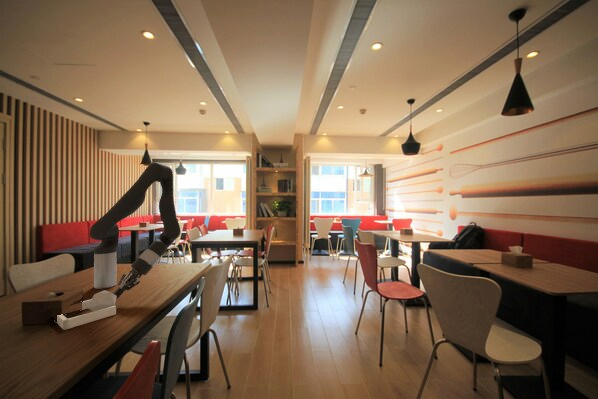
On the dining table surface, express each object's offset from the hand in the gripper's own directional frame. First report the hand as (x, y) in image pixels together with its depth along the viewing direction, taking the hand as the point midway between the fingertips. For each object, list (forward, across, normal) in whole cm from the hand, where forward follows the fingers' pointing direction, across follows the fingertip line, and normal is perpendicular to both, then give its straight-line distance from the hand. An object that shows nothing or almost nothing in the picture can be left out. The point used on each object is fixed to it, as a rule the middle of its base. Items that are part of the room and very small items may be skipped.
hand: (114, 297), depth 105 cm
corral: (+9, 0, -4) cm, 10 cm away
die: (+6, +2, 0) cm, 6 cm away
